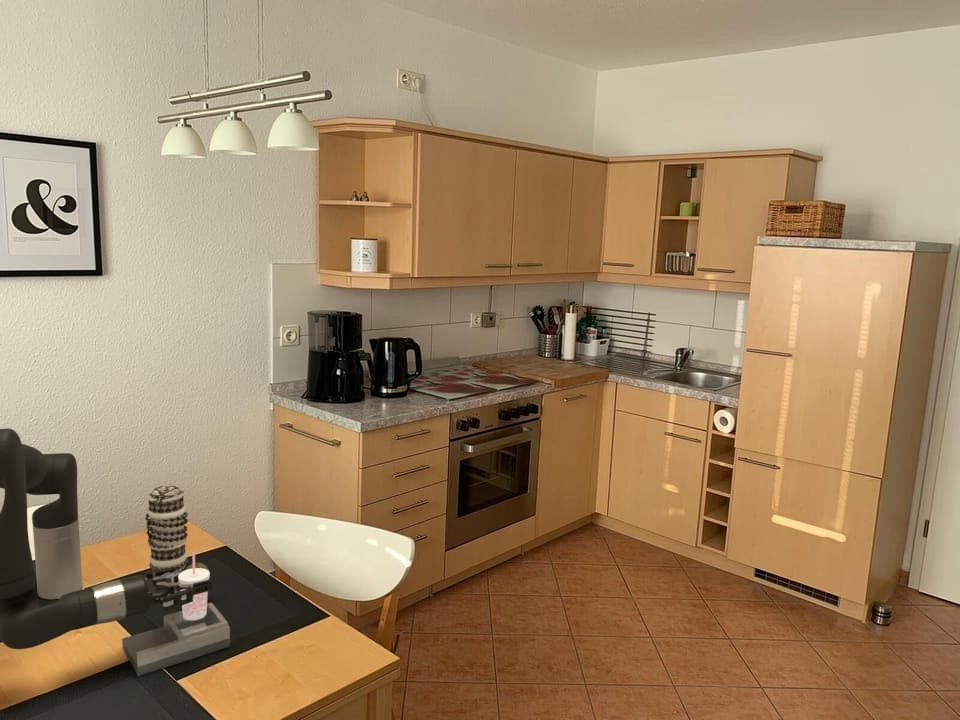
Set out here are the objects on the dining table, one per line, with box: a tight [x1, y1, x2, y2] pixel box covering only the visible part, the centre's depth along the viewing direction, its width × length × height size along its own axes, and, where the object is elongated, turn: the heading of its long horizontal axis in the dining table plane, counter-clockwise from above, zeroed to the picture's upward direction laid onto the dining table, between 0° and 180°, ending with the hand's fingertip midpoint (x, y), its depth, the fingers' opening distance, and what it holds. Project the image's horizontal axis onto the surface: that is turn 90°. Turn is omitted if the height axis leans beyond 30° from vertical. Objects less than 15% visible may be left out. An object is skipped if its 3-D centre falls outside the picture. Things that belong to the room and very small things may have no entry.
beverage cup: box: [178, 551, 211, 620], centre depth 154 cm, size 6×6×14 cm
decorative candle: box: [145, 485, 189, 593], centre depth 176 cm, size 9×9×25 cm
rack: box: [121, 602, 231, 677], centre depth 154 cm, size 12×18×5 cm, turn 128°
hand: (205, 578), depth 156 cm, fingers closed on beverage cup, 6 cm apart
